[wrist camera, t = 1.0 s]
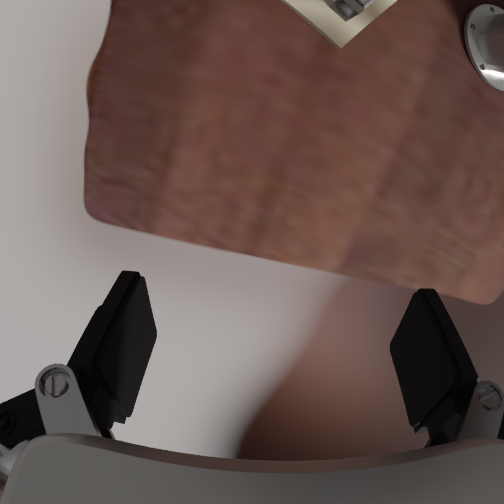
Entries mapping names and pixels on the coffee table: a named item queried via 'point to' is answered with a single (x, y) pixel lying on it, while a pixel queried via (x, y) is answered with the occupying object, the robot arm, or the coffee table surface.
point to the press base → (338, 16)
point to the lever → (364, 3)
